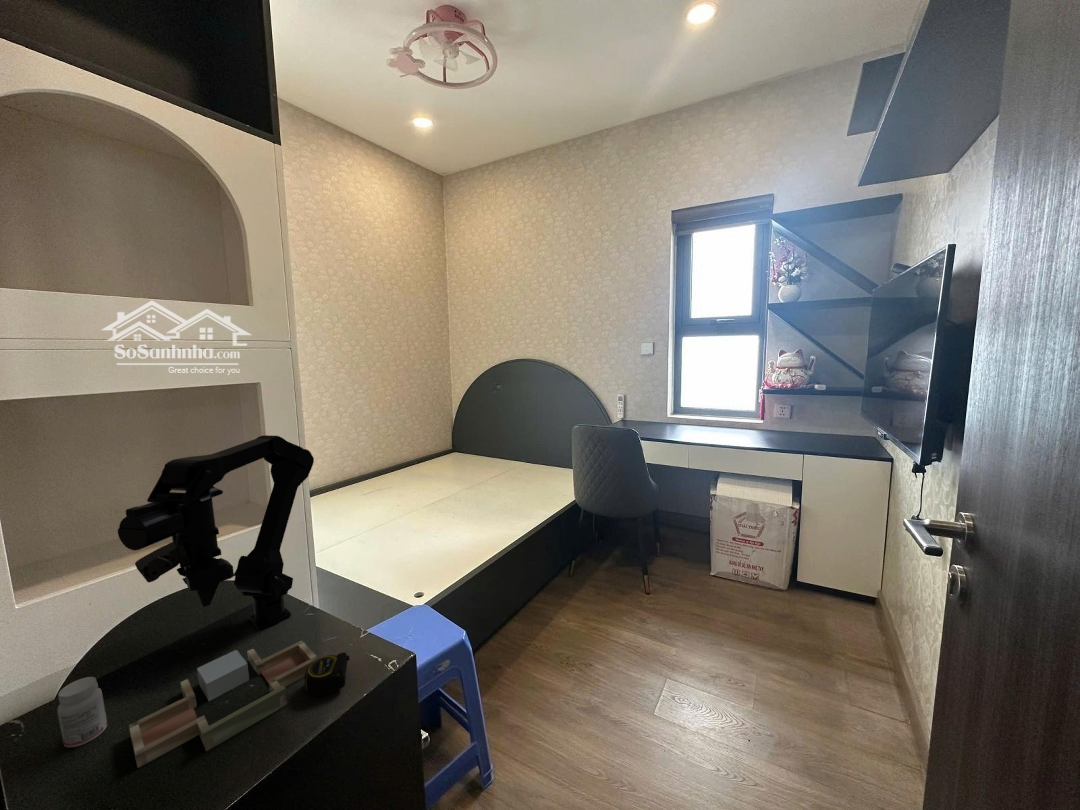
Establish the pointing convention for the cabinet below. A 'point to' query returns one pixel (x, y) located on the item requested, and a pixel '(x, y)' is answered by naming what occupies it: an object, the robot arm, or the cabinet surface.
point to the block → (223, 674)
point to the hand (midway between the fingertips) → (205, 604)
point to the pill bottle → (81, 712)
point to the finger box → (182, 723)
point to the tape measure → (326, 674)
